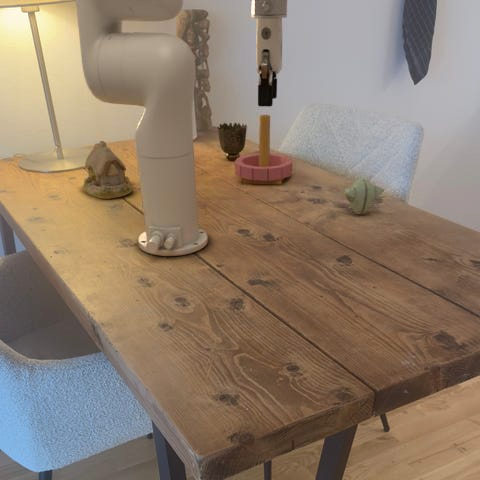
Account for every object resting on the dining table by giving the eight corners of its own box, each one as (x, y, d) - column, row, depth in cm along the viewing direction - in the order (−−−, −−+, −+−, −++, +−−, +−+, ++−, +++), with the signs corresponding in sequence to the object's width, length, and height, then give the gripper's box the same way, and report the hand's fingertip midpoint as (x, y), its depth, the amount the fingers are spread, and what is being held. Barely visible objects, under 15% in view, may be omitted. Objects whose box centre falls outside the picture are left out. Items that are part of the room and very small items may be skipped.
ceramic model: (77, 185, 131) (68, 138, 125) (122, 178, 135) (116, 132, 129) (96, 202, 122) (87, 152, 115) (144, 193, 126) (139, 144, 120)
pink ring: (289, 181, 127) (289, 169, 126) (231, 179, 129) (231, 167, 127) (293, 165, 137) (294, 154, 136) (240, 164, 139) (240, 152, 137)
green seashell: (344, 219, 111) (348, 183, 107) (337, 212, 114) (340, 177, 110) (382, 215, 113) (387, 180, 108) (374, 209, 116) (378, 174, 111)
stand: (281, 184, 130) (283, 120, 121) (242, 183, 131) (242, 119, 122) (284, 173, 137) (286, 112, 128) (247, 172, 138) (247, 111, 129)
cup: (241, 164, 143) (241, 129, 138) (214, 162, 145) (213, 127, 140) (250, 156, 149) (250, 122, 144) (224, 154, 151) (223, 121, 146)
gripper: (283, 11, 111) (280, 109, 121) (290, 6, 124) (286, 95, 135) (245, 11, 112) (246, 109, 122) (256, 6, 125) (255, 95, 136)
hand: (267, 102), depth 129 cm, fingers open, 9 cm apart
